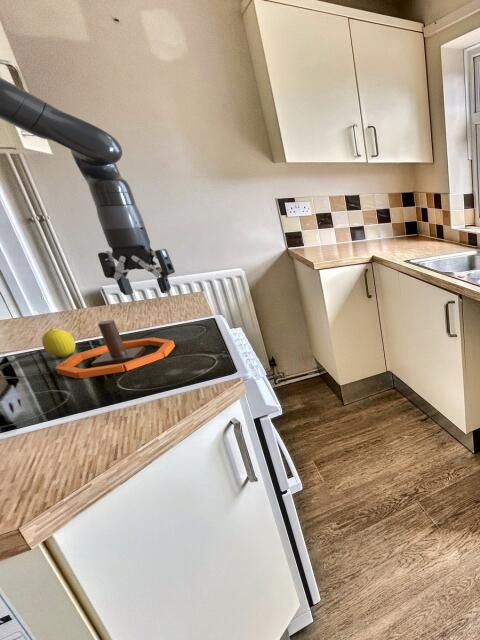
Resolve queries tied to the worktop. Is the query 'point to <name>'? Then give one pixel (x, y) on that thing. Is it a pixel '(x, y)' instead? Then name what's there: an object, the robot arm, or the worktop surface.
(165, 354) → the ring
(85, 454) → the worktop surface
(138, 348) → the post
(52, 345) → the lemon
